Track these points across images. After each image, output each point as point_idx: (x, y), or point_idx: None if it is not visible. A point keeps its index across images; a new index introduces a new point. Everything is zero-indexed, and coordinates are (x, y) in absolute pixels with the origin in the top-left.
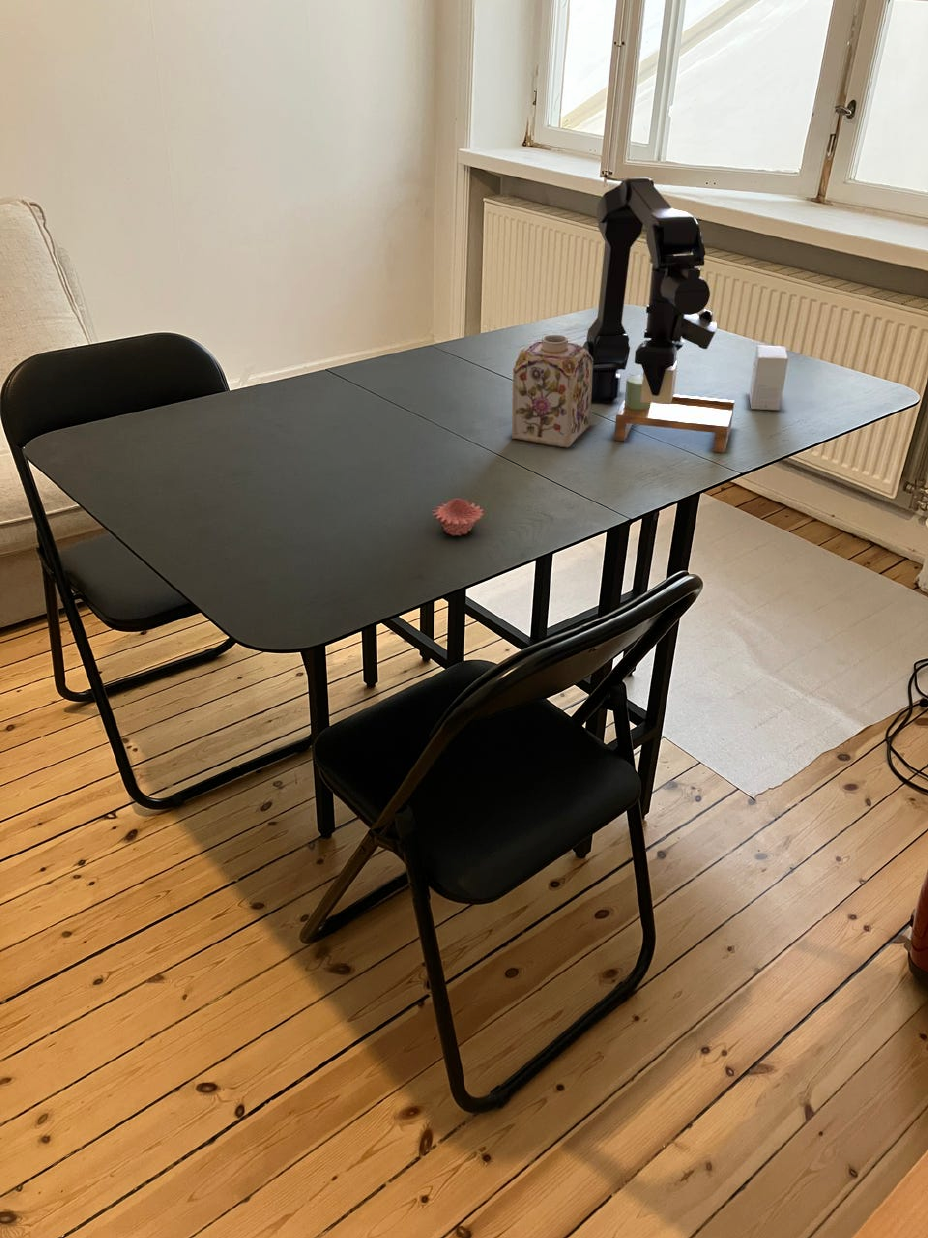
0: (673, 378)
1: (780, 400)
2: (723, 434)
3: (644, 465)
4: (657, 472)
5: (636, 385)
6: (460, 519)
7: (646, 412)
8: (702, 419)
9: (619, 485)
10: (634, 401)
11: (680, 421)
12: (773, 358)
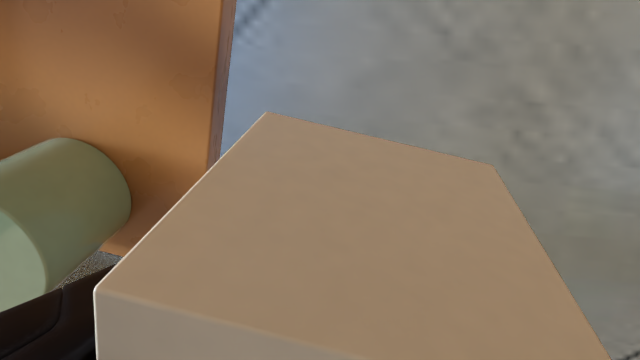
0: (464, 266)
1: None
2: None
3: (441, 143)
4: (510, 101)
5: (54, 273)
6: None
7: (145, 161)
8: None
9: (608, 236)
10: (109, 228)
11: (222, 4)
12: None
